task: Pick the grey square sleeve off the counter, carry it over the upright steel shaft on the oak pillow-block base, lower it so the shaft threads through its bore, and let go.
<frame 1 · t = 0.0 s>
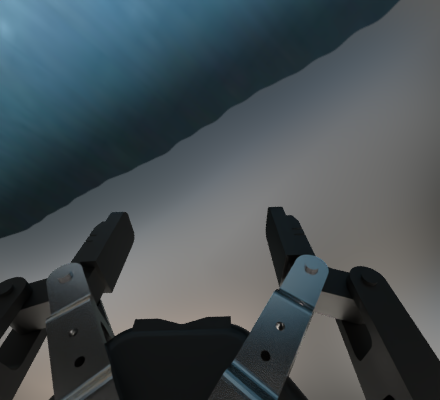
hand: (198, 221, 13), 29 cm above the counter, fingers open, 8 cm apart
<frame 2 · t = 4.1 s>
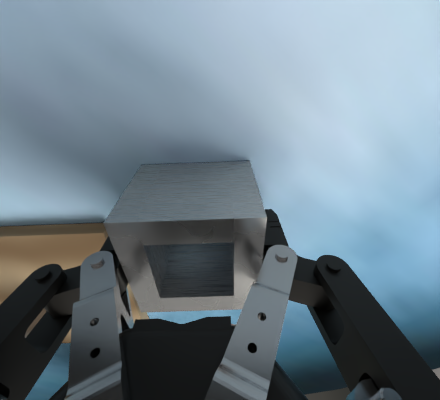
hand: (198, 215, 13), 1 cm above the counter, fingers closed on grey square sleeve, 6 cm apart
grey square sleeve: (200, 206, 14), on the counter, touching gripper
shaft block: (64, 289, 19), on the counter
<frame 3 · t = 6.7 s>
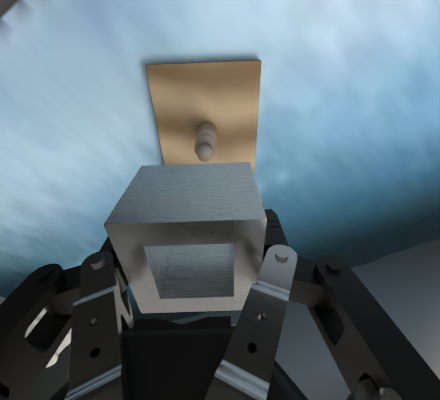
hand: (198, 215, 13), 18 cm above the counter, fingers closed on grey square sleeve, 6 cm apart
honey pot: (66, 291, 47), on the counter
grey square sleeve: (200, 207, 14), point 17 cm above the counter, touching gripper
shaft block: (207, 128, 28), on the counter
when the fingers open (5 cm above the counter, at t = 9.3 s): grey square sleeve drops 3 cm, resting on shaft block.
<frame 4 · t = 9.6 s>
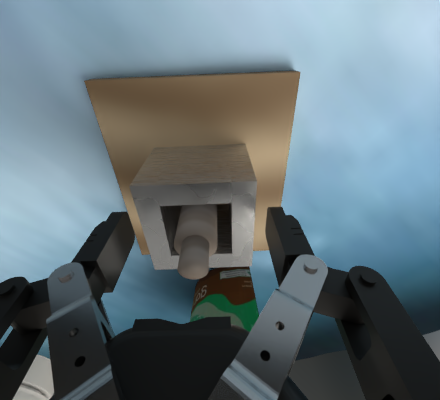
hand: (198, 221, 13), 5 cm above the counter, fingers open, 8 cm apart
food container: (212, 287, 25), on the counter
honey pot: (21, 365, 36), on the counter
grey square sleeve: (203, 185, 16), point 1 cm above the counter, touching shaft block
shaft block: (202, 179, 17), on the counter
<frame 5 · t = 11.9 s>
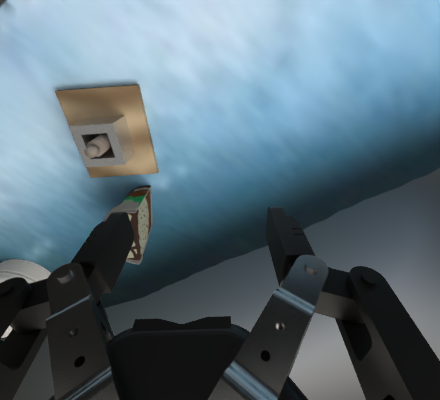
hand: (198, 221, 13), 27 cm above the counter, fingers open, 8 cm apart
food container: (136, 204, 44), on the counter
honey pot: (27, 276, 55), on the counter
grey square sleeve: (112, 136, 36), point 1 cm above the counter, touching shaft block
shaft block: (113, 134, 37), on the counter
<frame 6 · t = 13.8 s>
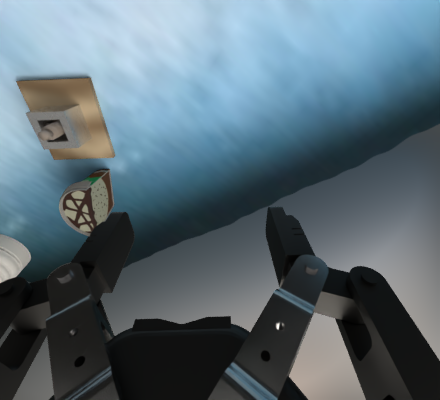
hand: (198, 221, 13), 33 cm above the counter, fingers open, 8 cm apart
food container: (98, 185, 50), on the counter
honey pot: (5, 250, 61), on the counter
grey square sleeve: (69, 122, 41), point 1 cm above the counter, touching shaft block
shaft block: (72, 121, 42), on the counter
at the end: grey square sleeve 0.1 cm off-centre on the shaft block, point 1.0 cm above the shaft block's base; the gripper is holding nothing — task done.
